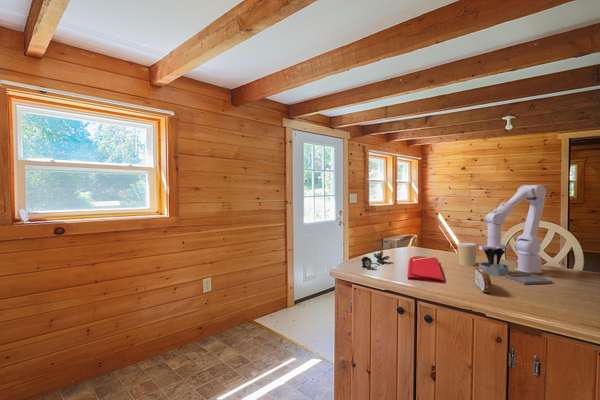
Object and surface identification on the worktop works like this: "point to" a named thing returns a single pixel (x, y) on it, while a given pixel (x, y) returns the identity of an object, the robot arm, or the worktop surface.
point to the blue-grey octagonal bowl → (497, 271)
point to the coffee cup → (467, 253)
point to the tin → (483, 280)
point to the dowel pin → (494, 262)
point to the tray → (528, 279)
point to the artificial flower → (368, 262)
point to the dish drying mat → (425, 269)
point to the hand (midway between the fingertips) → (493, 264)
